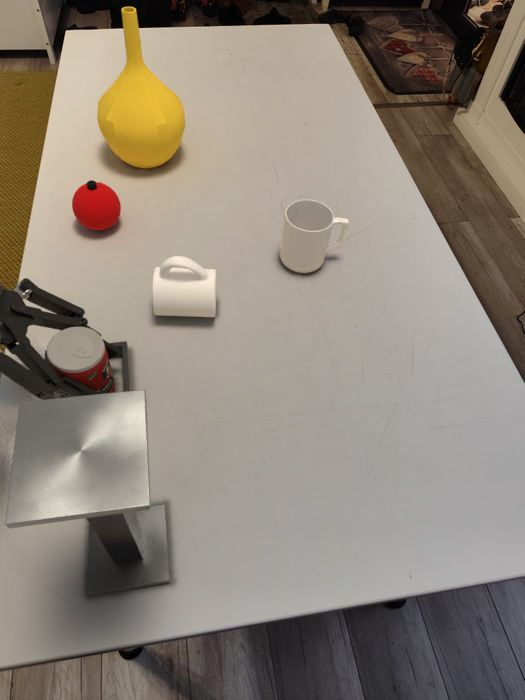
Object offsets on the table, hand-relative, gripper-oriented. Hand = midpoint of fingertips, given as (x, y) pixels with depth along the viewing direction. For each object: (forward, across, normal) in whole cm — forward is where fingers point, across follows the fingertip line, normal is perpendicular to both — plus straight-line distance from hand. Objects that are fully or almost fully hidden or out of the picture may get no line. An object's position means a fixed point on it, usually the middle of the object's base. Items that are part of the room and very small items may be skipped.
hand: (107, 377), depth 78 cm
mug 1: (+9, -19, +3) cm, 21 cm away
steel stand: (+9, +23, +3) cm, 25 cm away
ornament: (-6, -38, -12) cm, 40 cm away
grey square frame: (0, 0, -5) cm, 5 cm away
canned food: (+1, 0, -5) cm, 5 cm away
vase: (-3, -62, -9) cm, 63 cm away
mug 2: (+24, -35, +18) cm, 46 cm away
